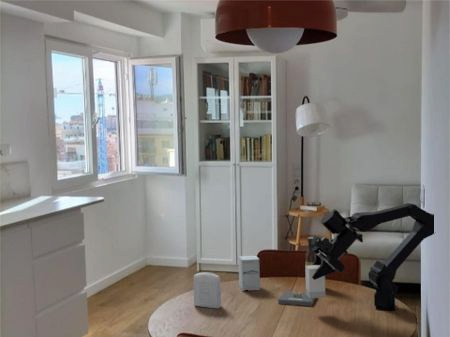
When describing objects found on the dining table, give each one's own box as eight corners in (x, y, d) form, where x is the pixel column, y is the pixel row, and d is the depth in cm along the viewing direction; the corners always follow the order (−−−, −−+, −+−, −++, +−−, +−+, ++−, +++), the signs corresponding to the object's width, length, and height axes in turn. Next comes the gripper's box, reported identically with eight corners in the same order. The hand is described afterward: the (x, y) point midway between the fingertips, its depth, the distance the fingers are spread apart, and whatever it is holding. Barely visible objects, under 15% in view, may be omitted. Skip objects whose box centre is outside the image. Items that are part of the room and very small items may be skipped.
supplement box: (241, 291, 209) (241, 260, 208) (239, 286, 216) (238, 255, 215) (260, 290, 210) (259, 258, 209) (256, 285, 217) (256, 254, 216)
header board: (316, 297, 198) (316, 289, 198) (311, 306, 189) (311, 297, 189) (284, 295, 203) (284, 287, 202) (278, 303, 193) (278, 295, 193)
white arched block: (223, 305, 193) (222, 272, 192) (218, 309, 189) (217, 275, 188) (197, 302, 197) (196, 270, 196) (192, 306, 193) (191, 273, 192)
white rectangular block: (321, 293, 184) (320, 264, 184) (325, 296, 180) (324, 267, 179) (305, 294, 184) (305, 265, 183) (309, 298, 179) (309, 268, 178)
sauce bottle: (322, 289, 208) (321, 239, 207) (306, 289, 209) (304, 239, 208) (321, 284, 215) (320, 236, 213) (306, 284, 216) (305, 236, 214)
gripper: (317, 222, 190) (287, 255, 189) (334, 232, 171) (302, 268, 171) (338, 243, 191) (309, 275, 191) (358, 255, 173) (326, 290, 172)
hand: (311, 276), depth 181 cm, fingers closed on white rectangular block, 4 cm apart
